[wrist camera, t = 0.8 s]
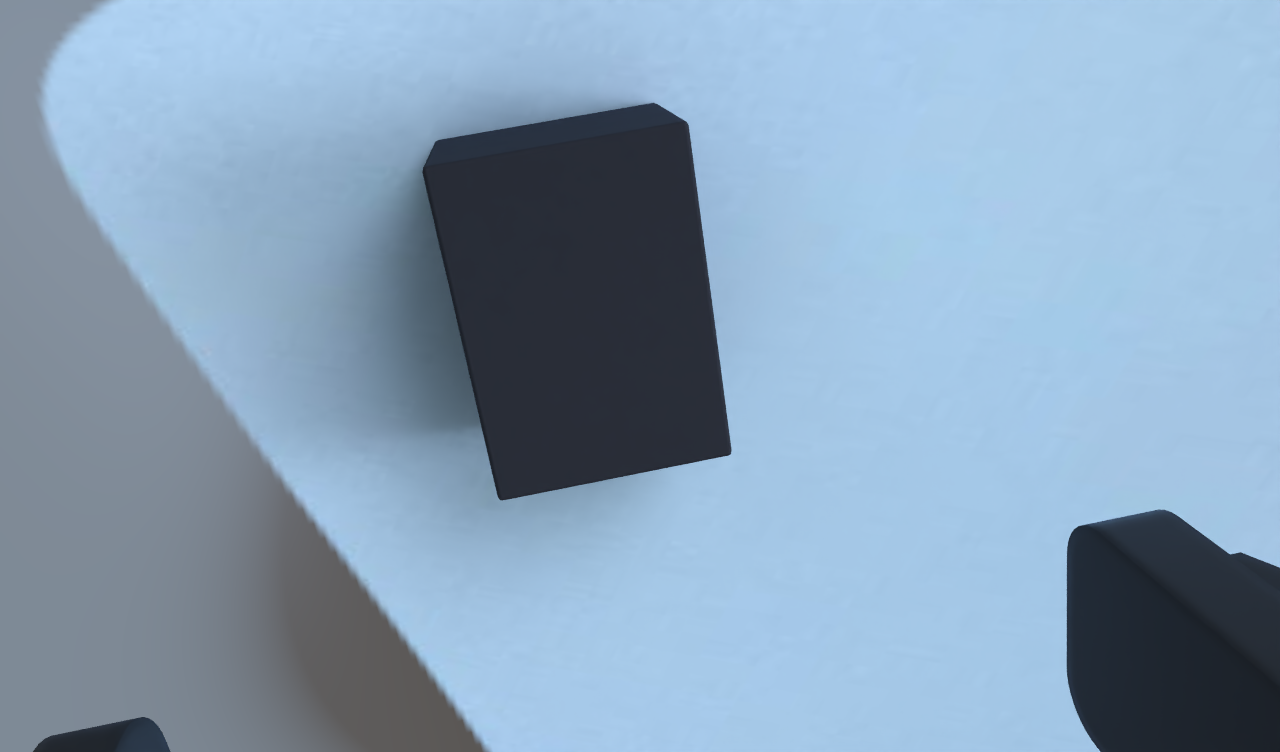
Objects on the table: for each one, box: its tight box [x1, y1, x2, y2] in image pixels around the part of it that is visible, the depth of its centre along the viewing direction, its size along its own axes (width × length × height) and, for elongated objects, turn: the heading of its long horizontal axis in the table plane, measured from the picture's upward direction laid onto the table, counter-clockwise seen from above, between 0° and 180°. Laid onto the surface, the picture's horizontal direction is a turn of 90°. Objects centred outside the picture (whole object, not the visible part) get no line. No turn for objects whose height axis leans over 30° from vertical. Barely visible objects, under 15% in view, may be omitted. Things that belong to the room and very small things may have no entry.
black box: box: [423, 103, 731, 500], centre depth 21 cm, size 7×5×4 cm
